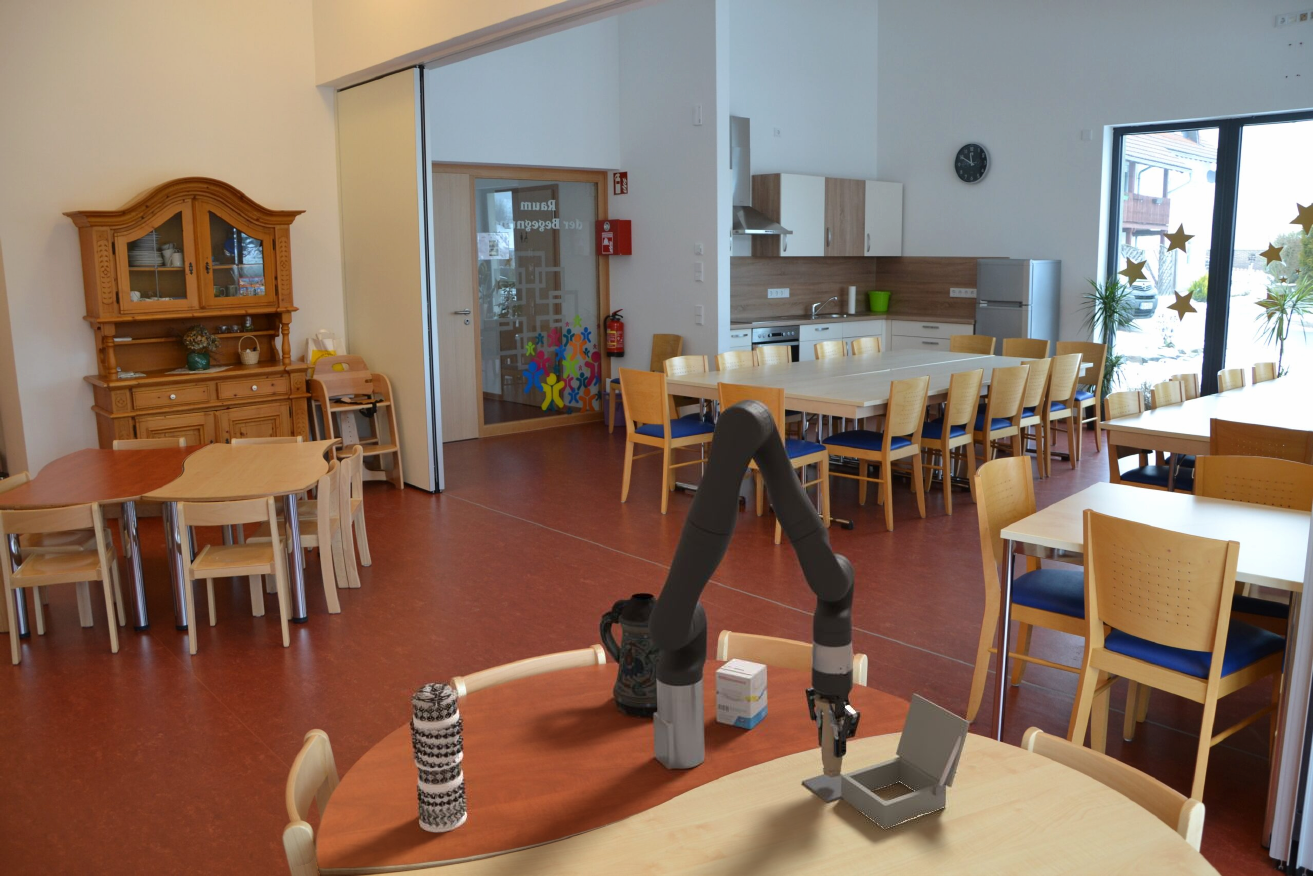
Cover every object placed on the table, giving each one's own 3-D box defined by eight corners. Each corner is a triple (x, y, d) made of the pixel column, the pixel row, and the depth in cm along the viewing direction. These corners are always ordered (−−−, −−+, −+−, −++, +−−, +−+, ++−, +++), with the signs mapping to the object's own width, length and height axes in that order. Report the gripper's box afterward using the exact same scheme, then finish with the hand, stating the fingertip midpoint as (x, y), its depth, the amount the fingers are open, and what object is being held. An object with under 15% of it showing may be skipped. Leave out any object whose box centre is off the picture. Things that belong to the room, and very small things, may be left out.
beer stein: (686, 718, 214) (684, 608, 210) (597, 719, 215) (593, 610, 210) (685, 686, 231) (683, 584, 226) (603, 688, 231) (599, 586, 227)
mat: (827, 802, 179) (827, 800, 179) (802, 783, 186) (802, 781, 186) (862, 791, 183) (862, 789, 182) (835, 772, 190) (835, 770, 189)
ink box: (768, 714, 215) (767, 664, 213) (750, 730, 208) (750, 678, 206) (733, 706, 219) (733, 657, 217) (715, 721, 212) (714, 670, 210)
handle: (847, 782, 181) (848, 705, 178) (812, 778, 183) (812, 702, 180) (851, 770, 185) (851, 695, 183) (816, 765, 187) (816, 691, 185)
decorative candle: (444, 839, 171) (434, 704, 166) (406, 824, 175) (396, 692, 171) (479, 814, 178) (471, 684, 174) (442, 801, 183) (433, 674, 179)
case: (888, 832, 169) (889, 746, 166) (837, 795, 181) (838, 714, 179) (967, 804, 177) (970, 721, 175) (914, 770, 189) (915, 692, 187)
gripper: (792, 655, 185) (793, 740, 188) (840, 681, 172) (839, 772, 175) (825, 647, 188) (825, 731, 191) (873, 672, 176) (872, 762, 178)
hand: (832, 750), depth 183 cm, fingers closed on handle, 4 cm apart
